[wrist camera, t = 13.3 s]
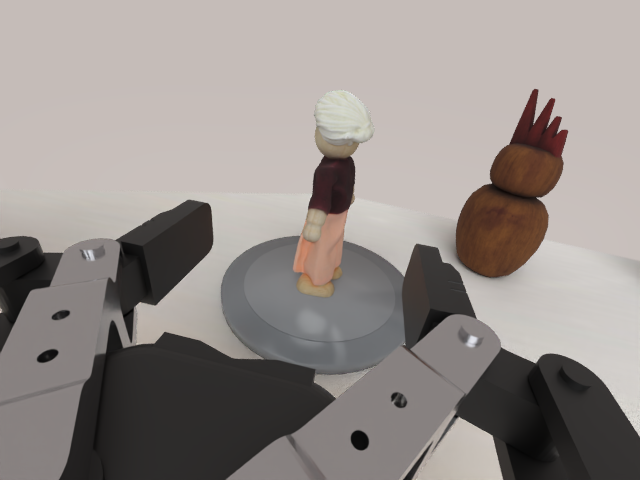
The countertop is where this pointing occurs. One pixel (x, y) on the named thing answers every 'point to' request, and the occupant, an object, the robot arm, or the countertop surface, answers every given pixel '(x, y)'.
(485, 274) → the wooden figurine
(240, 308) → the slate coaster
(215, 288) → the countertop surface
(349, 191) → the grandmother figurine
